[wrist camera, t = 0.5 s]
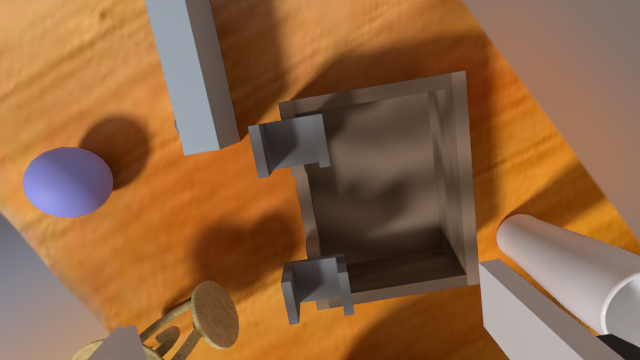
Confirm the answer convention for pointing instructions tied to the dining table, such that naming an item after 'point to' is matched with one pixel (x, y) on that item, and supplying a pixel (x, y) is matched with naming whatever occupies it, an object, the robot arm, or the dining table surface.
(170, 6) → the door
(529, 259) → the drinking glass
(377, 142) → the box
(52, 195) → the sphere
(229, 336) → the wall sconce
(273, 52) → the dining table surface
